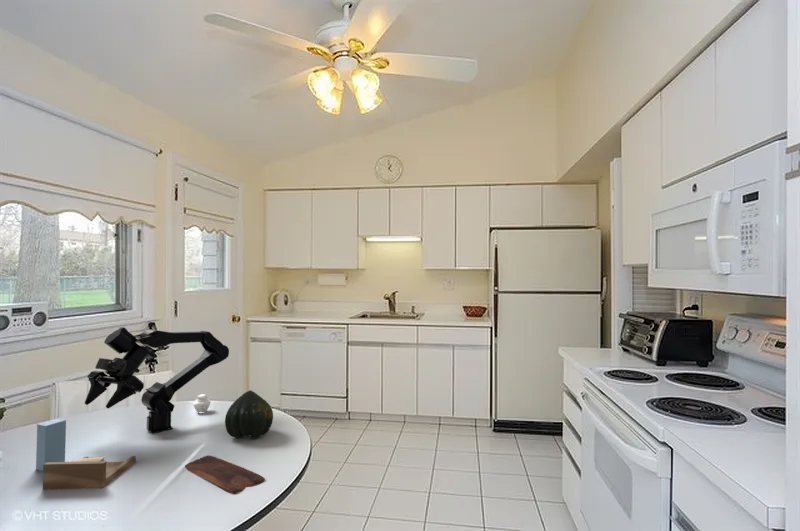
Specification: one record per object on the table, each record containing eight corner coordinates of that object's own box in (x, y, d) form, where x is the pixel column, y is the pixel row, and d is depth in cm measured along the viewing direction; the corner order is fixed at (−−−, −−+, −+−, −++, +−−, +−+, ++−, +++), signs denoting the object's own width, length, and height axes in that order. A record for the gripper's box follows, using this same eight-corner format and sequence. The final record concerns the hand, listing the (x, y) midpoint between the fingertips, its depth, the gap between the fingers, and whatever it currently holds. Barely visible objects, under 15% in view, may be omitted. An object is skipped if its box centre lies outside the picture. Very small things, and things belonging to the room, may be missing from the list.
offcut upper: (73, 468, 109) (73, 459, 109) (104, 466, 111) (104, 456, 111) (64, 476, 105) (64, 465, 105) (96, 473, 107) (96, 463, 107)
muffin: (213, 410, 168) (214, 392, 168) (203, 415, 162) (203, 396, 162) (200, 409, 169) (200, 391, 169) (189, 414, 163) (189, 395, 163)
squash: (245, 432, 130) (266, 387, 140) (208, 427, 136) (231, 384, 146) (269, 450, 140) (287, 407, 150) (233, 445, 145) (253, 403, 155)
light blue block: (56, 465, 119) (57, 418, 119) (64, 467, 118) (66, 420, 118) (35, 473, 114) (37, 424, 114) (44, 475, 113) (45, 426, 113)
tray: (83, 465, 119) (84, 440, 119) (136, 464, 120) (136, 439, 120) (42, 493, 104) (43, 464, 104) (102, 492, 105) (103, 463, 105)
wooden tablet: (178, 462, 119) (212, 447, 127) (179, 470, 120) (213, 454, 128) (232, 492, 104) (267, 472, 112) (233, 501, 104) (267, 481, 112)
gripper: (94, 345, 138) (55, 388, 127) (136, 349, 131) (99, 395, 121) (117, 365, 145) (82, 407, 134) (158, 370, 138) (125, 414, 128)
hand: (96, 405), depth 129 cm, fingers open, 9 cm apart
